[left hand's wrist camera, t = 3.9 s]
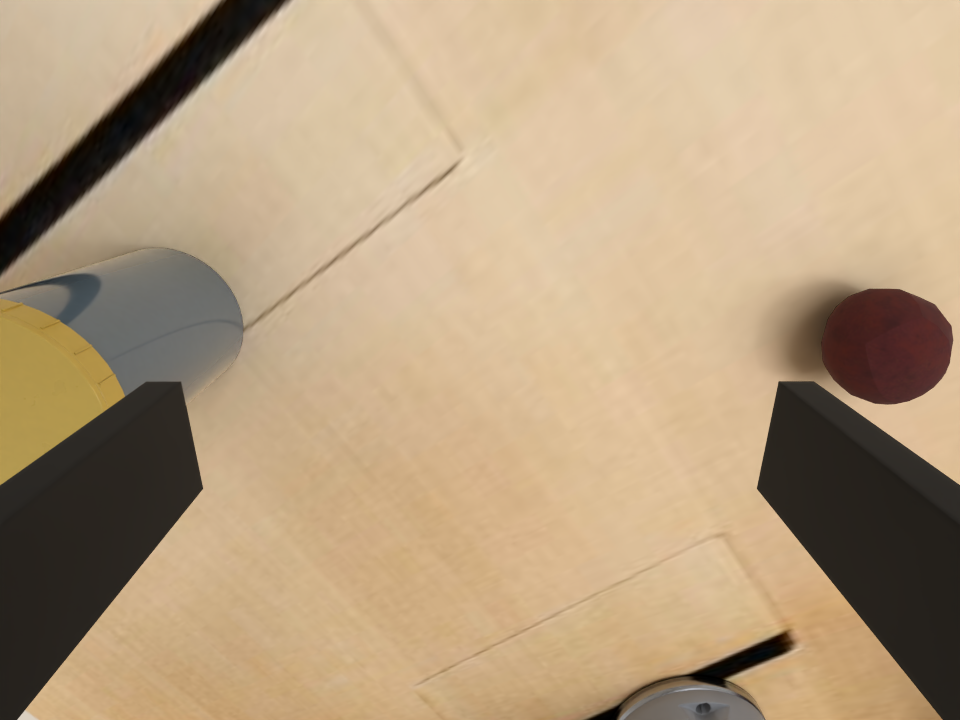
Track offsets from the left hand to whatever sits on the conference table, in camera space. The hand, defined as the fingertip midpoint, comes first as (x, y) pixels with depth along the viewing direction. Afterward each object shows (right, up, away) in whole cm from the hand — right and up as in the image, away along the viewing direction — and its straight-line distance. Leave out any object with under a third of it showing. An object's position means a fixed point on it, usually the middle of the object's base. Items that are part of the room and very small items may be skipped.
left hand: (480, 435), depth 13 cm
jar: (-22, +5, +28) cm, 36 cm away
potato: (+27, +4, +28) cm, 39 cm away
